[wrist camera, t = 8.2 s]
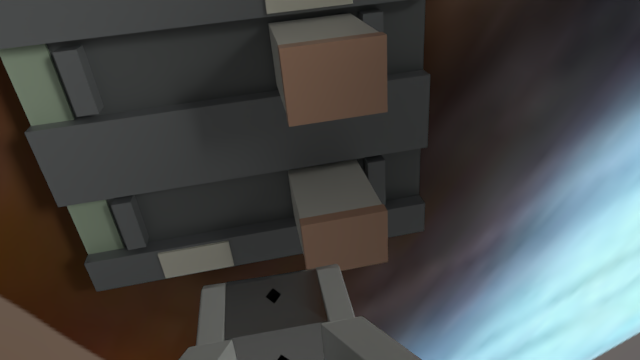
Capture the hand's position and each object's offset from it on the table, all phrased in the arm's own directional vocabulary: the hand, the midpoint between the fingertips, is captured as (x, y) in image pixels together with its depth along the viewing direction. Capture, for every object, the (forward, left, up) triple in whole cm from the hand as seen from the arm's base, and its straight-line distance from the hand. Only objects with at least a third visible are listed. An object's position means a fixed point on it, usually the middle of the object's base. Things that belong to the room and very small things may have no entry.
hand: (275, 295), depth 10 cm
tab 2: (-3, +6, -15) cm, 16 cm away
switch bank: (+1, +2, -16) cm, 17 cm away
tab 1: (-3, -2, -15) cm, 15 cm away
